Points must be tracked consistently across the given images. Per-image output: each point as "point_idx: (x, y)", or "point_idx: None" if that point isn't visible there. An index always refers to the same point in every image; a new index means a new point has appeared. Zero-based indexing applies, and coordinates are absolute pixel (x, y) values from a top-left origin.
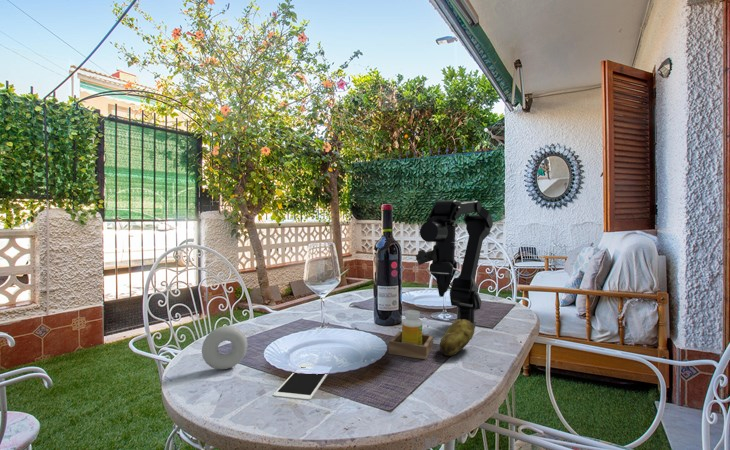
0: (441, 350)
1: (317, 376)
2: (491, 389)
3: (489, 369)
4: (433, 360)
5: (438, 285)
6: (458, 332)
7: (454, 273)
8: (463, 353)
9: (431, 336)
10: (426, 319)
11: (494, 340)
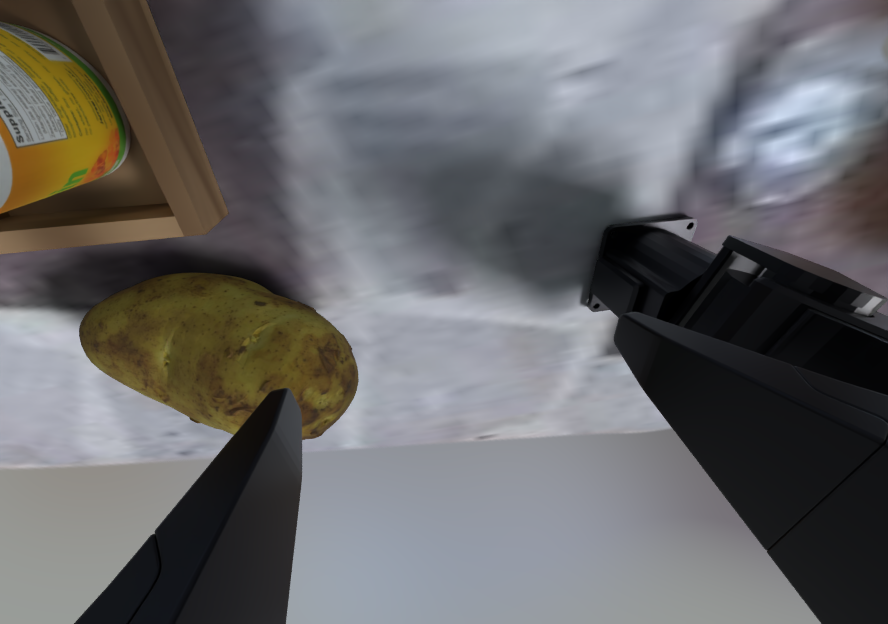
0: (106, 298)
1: None
2: (5, 465)
3: (164, 431)
4: (44, 265)
5: (161, 544)
6: (170, 402)
7: (812, 606)
8: None
9: (178, 228)
10: (734, 19)
11: (465, 386)
